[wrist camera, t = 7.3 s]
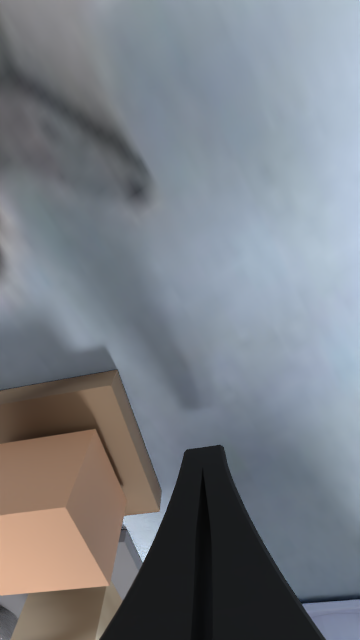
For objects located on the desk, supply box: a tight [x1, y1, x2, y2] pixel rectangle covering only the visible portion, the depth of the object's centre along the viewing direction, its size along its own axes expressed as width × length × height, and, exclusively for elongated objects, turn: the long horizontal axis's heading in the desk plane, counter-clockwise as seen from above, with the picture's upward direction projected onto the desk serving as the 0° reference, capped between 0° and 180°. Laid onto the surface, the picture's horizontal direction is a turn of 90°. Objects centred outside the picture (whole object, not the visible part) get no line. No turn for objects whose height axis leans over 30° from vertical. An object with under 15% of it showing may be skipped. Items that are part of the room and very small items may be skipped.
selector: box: [0, 429, 127, 596], centre depth 11 cm, size 4×4×3 cm
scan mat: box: [0, 529, 143, 619], centre depth 19 cm, size 16×10×1 cm, turn 103°
